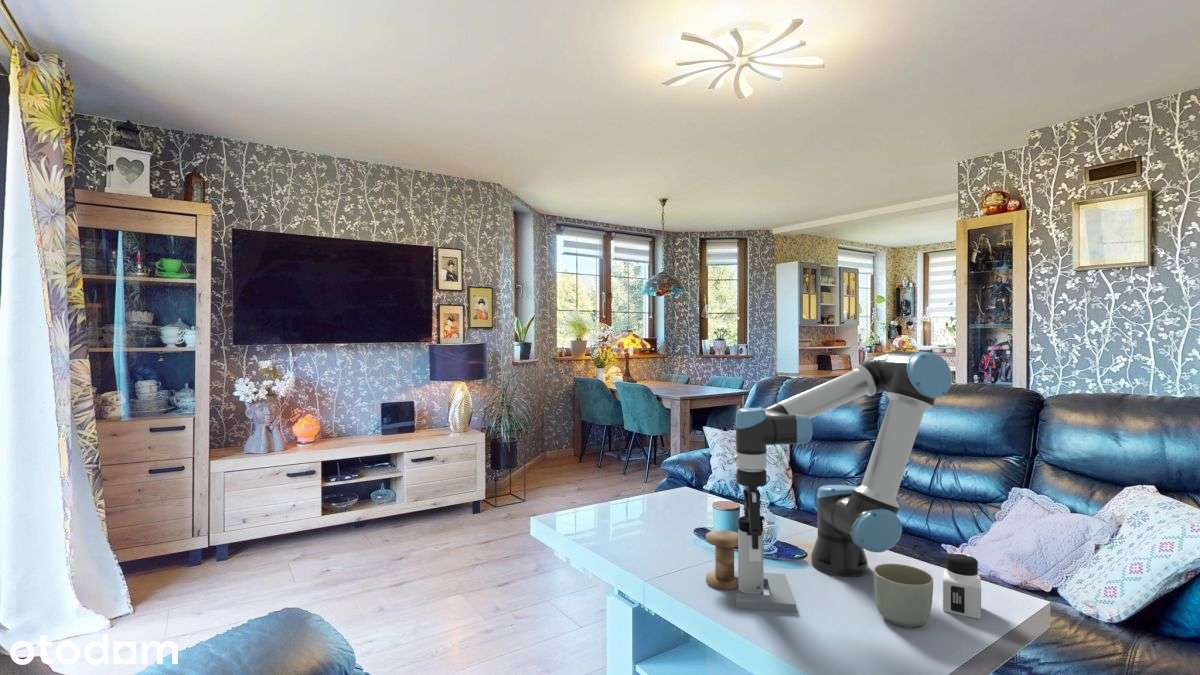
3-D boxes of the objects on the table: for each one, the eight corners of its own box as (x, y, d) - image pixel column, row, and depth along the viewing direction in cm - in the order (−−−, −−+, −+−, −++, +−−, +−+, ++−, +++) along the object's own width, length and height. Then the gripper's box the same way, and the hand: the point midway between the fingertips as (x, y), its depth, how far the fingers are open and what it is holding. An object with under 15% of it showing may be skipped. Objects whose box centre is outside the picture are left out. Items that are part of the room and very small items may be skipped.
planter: (907, 638, 128) (907, 589, 128) (861, 613, 139) (861, 568, 139) (945, 627, 133) (945, 579, 133) (898, 604, 144) (898, 560, 144)
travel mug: (765, 600, 147) (765, 520, 147) (738, 597, 148) (738, 519, 148) (763, 589, 153) (763, 513, 153) (738, 587, 154) (737, 511, 154)
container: (981, 620, 136) (981, 564, 136) (942, 611, 140) (942, 557, 140) (980, 606, 143) (980, 553, 143) (943, 599, 147) (943, 547, 147)
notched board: (784, 581, 158) (784, 573, 158) (795, 612, 140) (795, 604, 140) (731, 578, 160) (731, 570, 160) (736, 608, 142) (736, 600, 142)
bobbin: (742, 575, 162) (742, 531, 162) (745, 591, 152) (745, 543, 152) (705, 573, 163) (705, 529, 163) (706, 588, 153) (706, 541, 153)
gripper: (733, 457, 163) (734, 533, 163) (740, 480, 139) (741, 569, 139) (761, 458, 162) (762, 534, 162) (772, 481, 137) (773, 570, 138)
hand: (752, 550), depth 151 cm, fingers open, 13 cm apart
